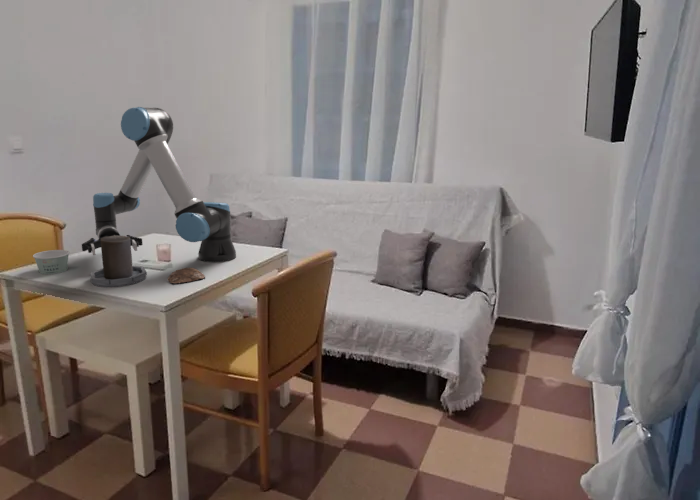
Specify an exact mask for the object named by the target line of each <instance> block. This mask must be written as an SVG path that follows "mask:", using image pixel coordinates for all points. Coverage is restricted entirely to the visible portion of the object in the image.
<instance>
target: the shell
mask: <svg viewBox="0 0 700 500" xmlns="http://www.w3.org/2000/svg"><path fill="white" fill-rule="evenodd" d="M203 279H204V280H206V276H205V274H204V273H203V272H202V271H200V270H198V269H197V268H194V267H183V268H179V269H176V270H175V271H172V272H171V273H170V275H169V276H168V277H167V282H168V283H169V284H171V285H179V284H180V285H183V284H189V283H194V282H198V281H199V282H200V281H203Z"/></svg>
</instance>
